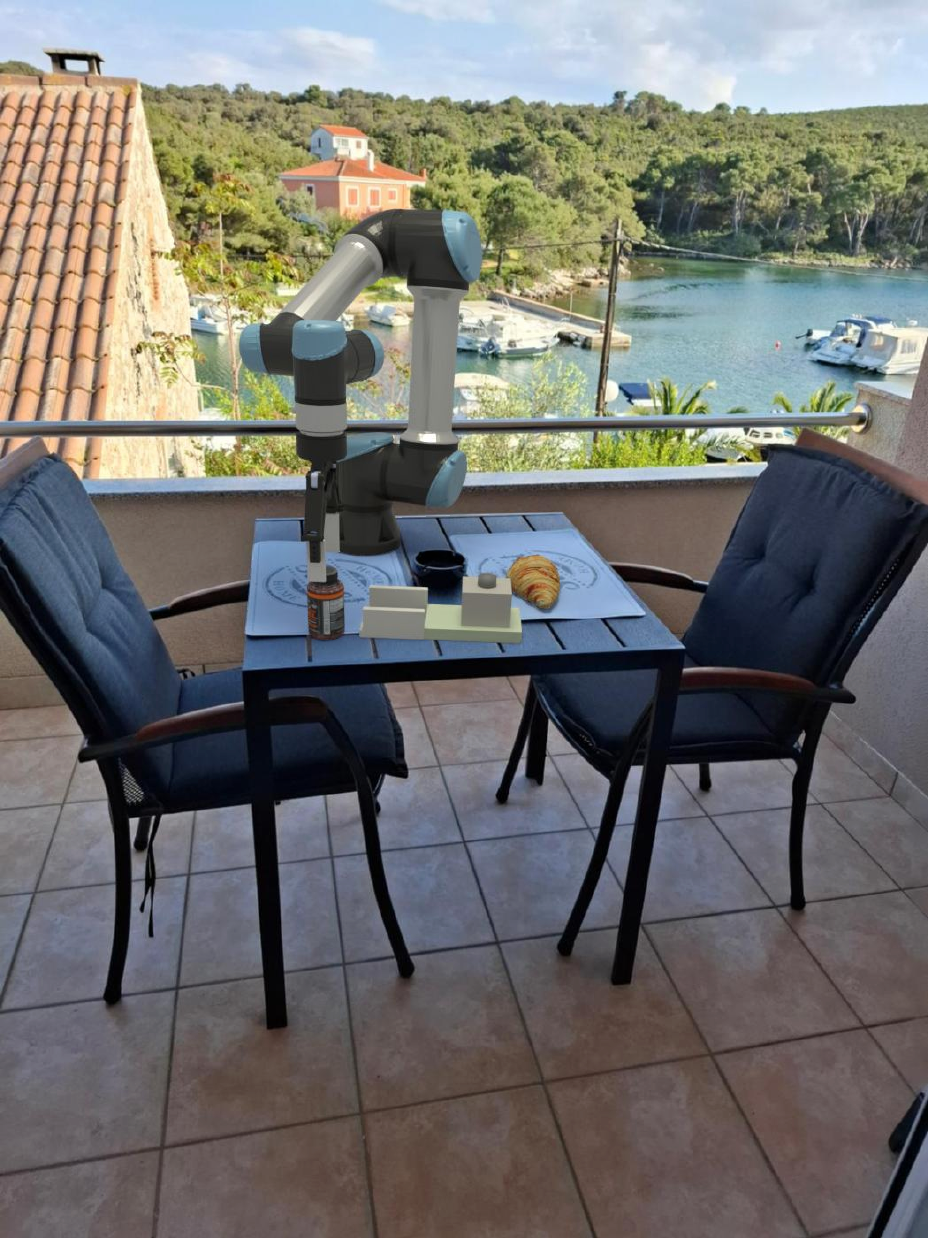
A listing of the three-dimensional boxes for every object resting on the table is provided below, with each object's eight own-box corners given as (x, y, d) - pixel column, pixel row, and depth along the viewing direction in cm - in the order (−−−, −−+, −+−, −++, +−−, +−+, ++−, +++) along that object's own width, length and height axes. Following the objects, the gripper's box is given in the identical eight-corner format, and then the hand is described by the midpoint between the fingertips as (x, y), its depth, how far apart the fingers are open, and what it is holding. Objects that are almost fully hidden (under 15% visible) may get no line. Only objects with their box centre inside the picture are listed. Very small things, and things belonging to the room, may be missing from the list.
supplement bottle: (301, 631, 138) (299, 567, 133) (333, 623, 141) (331, 560, 136) (319, 644, 133) (317, 579, 129) (351, 636, 137) (350, 571, 132)
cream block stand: (366, 611, 146) (366, 559, 142) (518, 617, 146) (522, 566, 142) (359, 637, 136) (358, 582, 132) (521, 643, 136) (525, 589, 132)
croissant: (560, 630, 150) (584, 594, 148) (514, 608, 147) (538, 571, 144) (530, 583, 169) (551, 550, 166) (489, 563, 165) (510, 529, 163)
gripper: (311, 414, 135) (314, 539, 143) (277, 447, 112) (284, 593, 121) (357, 417, 135) (358, 541, 143) (333, 450, 112) (336, 596, 121)
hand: (324, 565), depth 132 cm, fingers open, 13 cm apart
